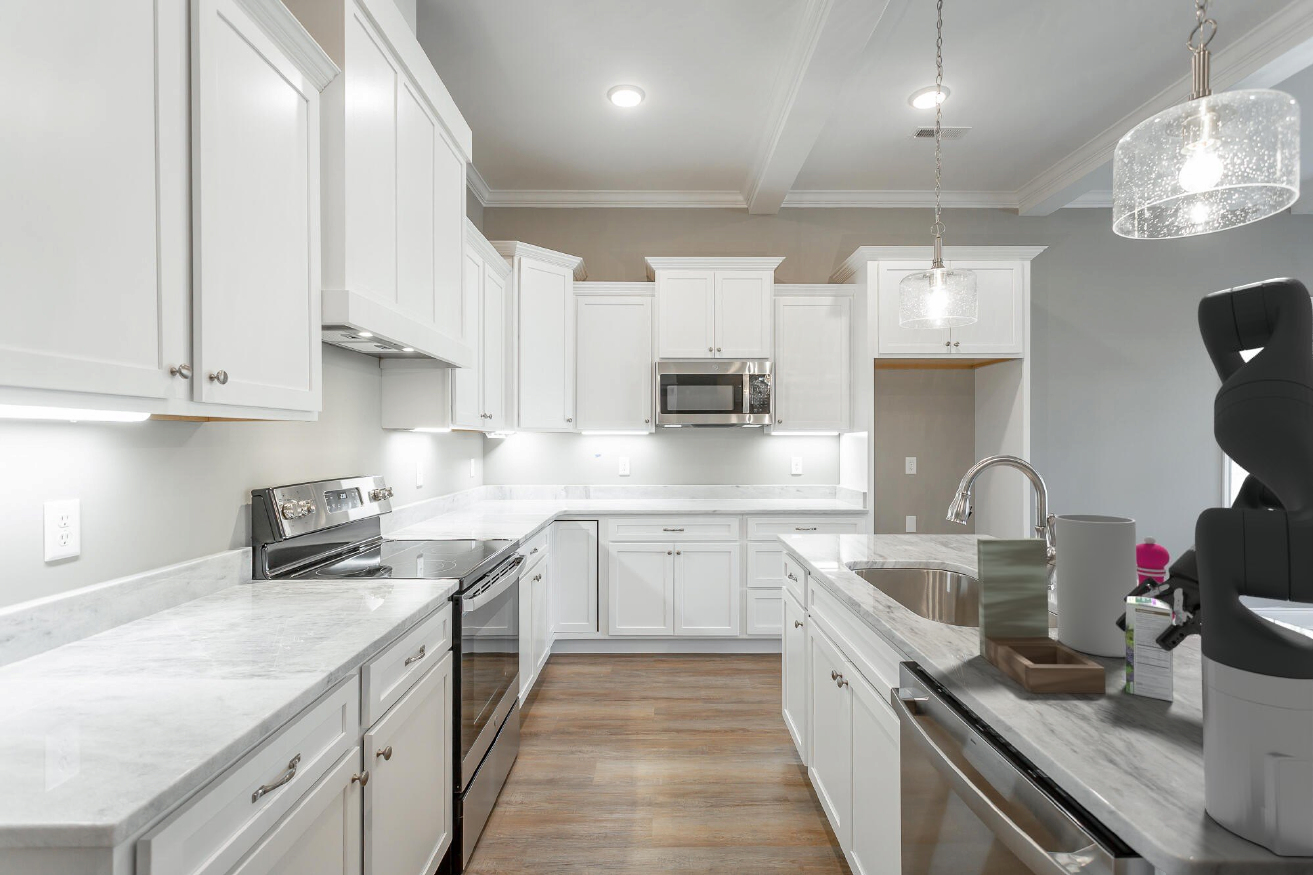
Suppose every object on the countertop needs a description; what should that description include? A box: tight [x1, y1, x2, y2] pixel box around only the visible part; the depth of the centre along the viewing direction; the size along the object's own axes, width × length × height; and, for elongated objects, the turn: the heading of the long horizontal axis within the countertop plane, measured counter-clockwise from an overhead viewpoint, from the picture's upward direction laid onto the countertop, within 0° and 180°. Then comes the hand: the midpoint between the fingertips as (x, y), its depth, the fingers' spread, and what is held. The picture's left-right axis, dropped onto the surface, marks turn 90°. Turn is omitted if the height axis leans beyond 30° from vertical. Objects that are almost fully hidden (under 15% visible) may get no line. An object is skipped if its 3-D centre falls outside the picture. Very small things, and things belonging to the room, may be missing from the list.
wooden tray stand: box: [976, 537, 1107, 694], centre depth 101 cm, size 17×12×22 cm
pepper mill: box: [1136, 535, 1176, 620], centre depth 120 cm, size 7×7×20 cm
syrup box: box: [1125, 596, 1174, 702], centre depth 93 cm, size 6×6×14 cm
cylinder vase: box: [1054, 513, 1138, 658], centre depth 113 cm, size 12×12×25 cm
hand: (1140, 637), depth 93 cm, fingers open, 8 cm apart
